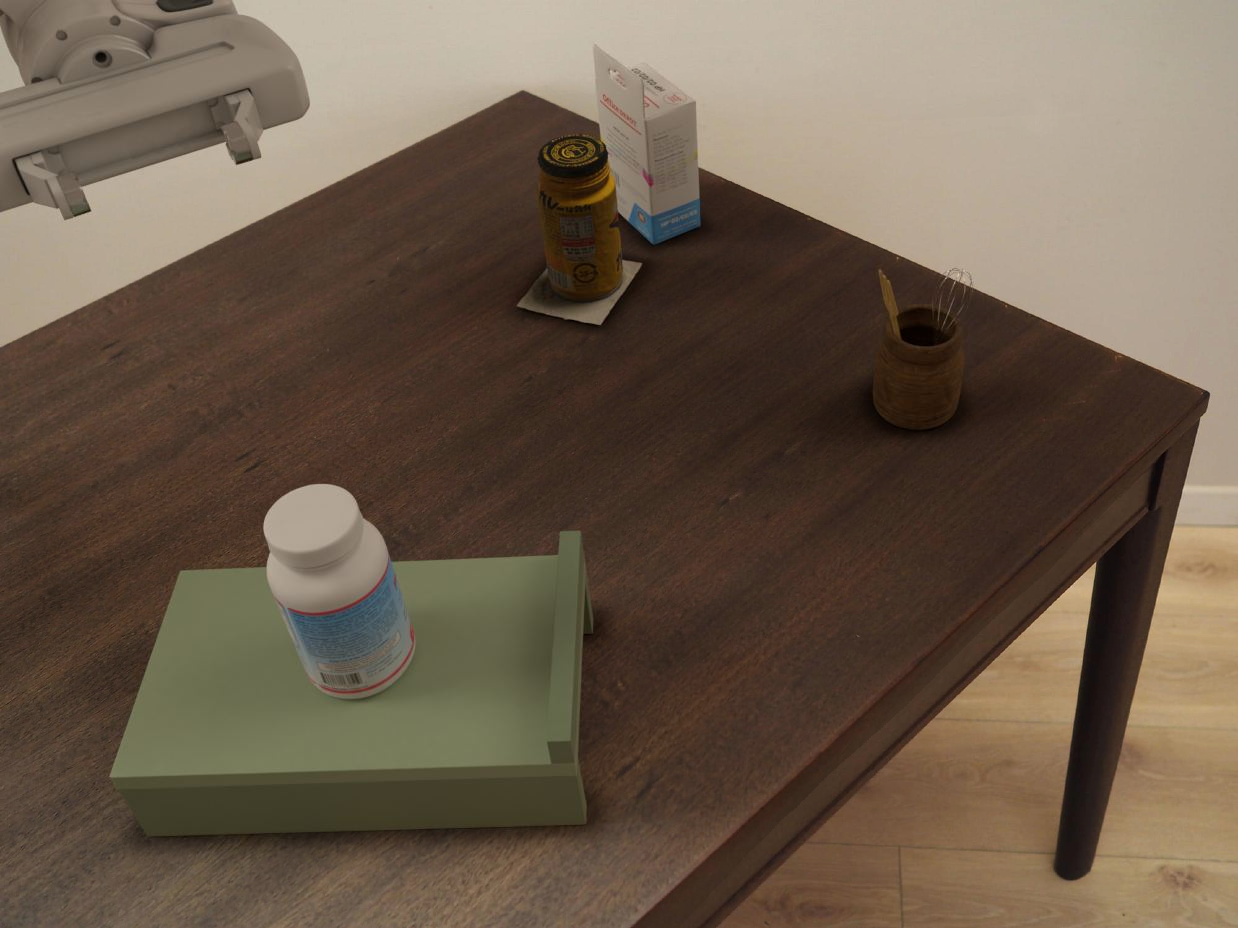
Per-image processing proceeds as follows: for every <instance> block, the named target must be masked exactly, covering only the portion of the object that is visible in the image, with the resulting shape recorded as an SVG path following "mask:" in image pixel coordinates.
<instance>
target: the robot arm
mask: <svg viewBox="0 0 1238 928" xmlns="http://www.w3.org/2000/svg"><path fill="white" fill-rule="evenodd" d="M0 30H1V33H2V37H3V39H4V42H5V44H6V47H7V50H8V52H9V54H10V56H11V58H12V60H13V61H14V63H15V64H16V66H17V67H18V72H19V75H20V77H21V80H22V82H23V84H24V85H23V86H19V87H16V88H12V89H9V90H5V91H1V92H0V213H3V212H6V211H9V210H12V209H16V208H19V207H22V206H25V205H29V204H31V203H34V204H36V205H41V206H44V207H48V208H52V209H56V210H57V209H58V210H59V211H60V214H61V216H62V219H63V220H64V221H67V220H71V219H74V218H77V217H80V216H83V215H85V214H88V213H91V212H92V209H91V206H90V203H89V202H88V199H87V197H86V195H85V192H84V189H83V188H84V187H86V186H89V185H92V184H95V183H100V182H103V181H105V180H109V179H112V178H115V177H118V176H122V175H124V174H127V173H131V172H134V171H138V170H141V169H144V168H147V167H150V166H153V165H157V164H160V163H164V162H167V161H170V160H172V159H176V158H179V157H183V156H185V155H189V154H192V153H195V152H199V151H203V150H205V149H208V148H211V147H215V146H218V145H220V144H223V143H225V147H226V150H227V153H228V156H229V157H230V159H231V161H233V163H234V165H235V166H239V165H242V164H245V163H249V162H252V161H255V160H259V159H261V158H262V153H261V150H260V146H259V140H260V138H261V137H262V136H263V133H264V131H266V130H268V129H272V128H276V127H278V126H281V125H285V124H288V123H291V122H295V121H299V120H300V119H302V118H303V117H304V116H305V115H306V114H307V112H308V111H309V109H310V107H311V100H310V95H309V90H308V86H307V81H306V78H305V75H304V71H303V68H302V65H301V62H300V60H299V58H298V55H297V54H296V52H294V50H293V49H292V48H291V46H290V45H288V43H287V42H286V41H285V40H284V39H283V38H282V37H281V36H280V35H279V34H277V33H276V32H275V31H274V30H273V29H272V28H270V27H269V26H268V25H267V24H265V23H264V22H263V21H261V20H259V19H257V18H255V17H253V16H249V15H245V14H239V12H238V10H237V8H236V6H235V3H234V0H0Z"/></svg>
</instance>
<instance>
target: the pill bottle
mask: <svg viewBox="0 0 1238 928" xmlns="http://www.w3.org/2000/svg"><path fill="white" fill-rule="evenodd" d="M263 533H264V537H265V540H266V543H267V546H268V549H269V554H268V557H267V562H266V567H267V579H268V583H269V586H270V588H271V591H272V593H273V596H274V598H275V600H276V603H277V605H278V608H279V610H280V612H281V615H282V617H283V619H284V622H285V624H286V626H287V629H288V631H289V634H290V636H291V638H292V641H293V643H294V645H295V648H296V650H297V652H298V655H299V657H300V659H301V662H302V664H303V667H304V669H305V671H306V673H307V675H308V677H309V679H310V681H311V682H312V683H313V684H314V685H315V686H316V687H317V688H318V689H319V690H320V691H322V692H324V693H325V694H327V695H330V696H333V697H336V698H342V699H359V698H364V697H368V696H372V695H374V694H377V693H379V692H381V691H383V690H385V689H386V688H388V687H389V686H391V685H392V684H393V683H394V682H395V681H397V679H398V678H399V677H400V676H401V675H402V674H403V673H404V671H405V670H406V669H407V667H408V666H409V664H410V662H411V660H412V658H413V655H414V651H415V635H414V631H413V627H412V624H411V621H410V618H409V615H408V612H407V609H406V606H405V602H404V599H403V596H402V593H401V590H400V587H399V584H398V581H397V578H396V574H395V571H394V568H393V565H392V562H393V561H392V559H391V556H390V553H389V550H388V547H387V544H386V541H385V539H384V537H383V535H382V533H381V532H380V531H379V530H378V528H377V527H376V526H375V525H374V524H372V523H371V521H368V520H367V519H365V518H364V517H363V514H362V512H361V510H360V507H359V505H358V502H357V500H356V499H355V497H354V496H353V494H352V493H351V492H349V491H348V490H347V489H345V488H343V487H341V486H338V485H334V484H329V483H316V484H315V483H313V484H308V485H304V486H301V487H298V488H296V489H293V490H291V491H289V492H287V493H286V494H284V495H283V496H281V497H280V498H278V499H277V500H276V501H275V503H273V505H271V507H270V508H269V510H268V511H267V513H266V515H265V517H264V522H263Z"/></svg>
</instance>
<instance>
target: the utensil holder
mask: <svg viewBox="0 0 1238 928" xmlns="http://www.w3.org/2000/svg"><path fill="white" fill-rule="evenodd" d="M954 270H955V271H954ZM952 271H954V272H952ZM947 272H948V273H947ZM951 272H952V273H951ZM956 273H958V274H957V275H956V277H955V280H954V282H953V284H952V287H951V290H950V292H949V295H948V298H947V302H946V304H945V307H941V303H942V302H941V300H942V296H943V292H944V289H945V286H946V283H947V280H948V278H949V277H950V276H951V275H953V274H956ZM945 274H947V276H945V278H944V279H943V281H941V278H942V277H943V275H945ZM959 275H960V278H959ZM964 275H966V276H967V277H968V278H969V281H970V283H969V287H968V291H967V294H966V297H965V293H966V287H964V290H963V295H962V298H961V301H960V305H959V308H958V310H957V313H956V315H955V314H954V313H953V312H952V311H951V308H952V306H953V303H954V300H955V297H956V295H957V291H958V289H959V285H960V283H961V279H962V278H963V284H964V285H966V280H965V276H964ZM878 276H879V282H880V287H881V293H882V298H883V303H884V306H885V307H886V310H887V311H888V314H889V315H888V317H887V318H886V321H885V323H884V326H883V330H882V339H881V340H880V342H879V343H878V346H877V349H876V354H875V361H874V371H873V382H872V383H873V385H872V399H873V405H874V407H875V409H876V411H877V413H878V414H879V415H880V416H881V417H882V418H883V419H884V420H885V421H886V422H888V423H890V424H891V425H894V426H896V427H898V428H902V429H906V430H913V431H922V430H923V431H924V430H931V429H934V428H937V427H939V426H942V425H943V424H945V423H947V422H948V421H949V420H950V419H952V417H953V416H954V414H955V412H956V410H957V408H958V406H959V401H960V397H961V391H962V384H963V377H964V370H965V352H964V349H963V342H964V332H963V325H962V323H961V319H962V318H963V317H964V316H965V313H966V311H967V309H968V307H969V305H970V302H971V299H972V295H973V291H974V285H973V279H972V276H971V274H970V272H968V271H966V270H964V269H963V268H961V269H959V268H958V267H954V268H951V269H948V270H946V271H945V272H943V273H942V274H941V275H940V277H939V279H938V281H937V284H936V286H935V289H934V292H933V296H932V303H931V304H928V303H914V304H913V303H912V304H909V305H904V306H902V307H899V308H898V307H897V303H896V299H895V296H894V292H893V288H892V284H891V281H890V280H889V279H887V276H886V275H885V274H883V270H882V269H878ZM958 278H959V281H958V283H957V287H956V289H955V292H954V296H953V299H952V301H951V304H950V306H949V309H947V306H948V304H949V300H950V298H951V295H952V291H953V289H954V286H955V283H956V281H957V279H958ZM940 281H941V284H940V286H939V288H938V285H939V282H940ZM943 283H944V284H943ZM942 285H943V287H942ZM937 288H938V291H937ZM941 288H942V289H941ZM940 290H941V294H940V298H939V305H936V301H937V298H938V296H939V293H940ZM970 290H971V293H970ZM936 291H937V293H936ZM969 293H970V297H969V300H968V302H967V298H968V295H969ZM935 294H936V296H935ZM964 297H965V300H964ZM934 299H935V300H934ZM963 300H964V302H963ZM966 302H967V304H966V305H967V306H966V308H965V310H964V312H963V313H962V315H961V316H960V317H959V318H958V315H960V312H961V311H962V310H963V308H964V305H965V303H966Z"/></svg>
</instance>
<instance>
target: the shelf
mask: <svg viewBox="0 0 1238 928" xmlns="http://www.w3.org/2000/svg"><path fill="white" fill-rule="evenodd" d="M558 539H559V540H558V554H553V555H551V554H550V555H528V556H527V555H525V556H502V557H477V558H453V559H430V560H428V559H427V560H406V561H405V560H403V561H391V562H392V565H393V568H394V571H395V574H396V578H397V581H398V584H399V587H400V590H401V593H402V596H403V599H404V602H405V606H406V609H407V612H408V615H409V618H410V621H411V624H412V627H413V631H414V635H415V651H414V655H413V658H412V660H411V662H410V664H409V666H408V667H407V669H406V670H405V671H404V673H403V674H402V675H401V676H400V677H399V678H398V679H397V681H395V682H394V683H393V684H392V685H391V686H389V687H388V688H386V689H385V690H383V691H381V692H379V693H377V694H374V695H372V696H368V697H364V698H359V699H342V698H336V697H333V696H330V695H327V694H325V693H324V692H322V691H320V690H319V689H318V688H317V687H316V686H315V685H314V684H313V683H312V682H311V681H310V679H309V677H308V675H307V673H306V671H305V669H304V667H303V664H302V662H301V659H300V657H299V655H298V652H297V650H296V648H295V645H294V643H293V641H292V638H291V636H290V634H289V631H288V629H287V626H286V624H285V622H284V619H283V617H282V615H281V612H280V610H279V608H278V605H277V603H276V600H275V598H274V596H273V593H272V591H271V588H270V586H269V583H268V579H267V566H256V567H233V568H214V569H213V568H209V569H207V568H206V569H183V570H182V569H181V570H180V571H179V573H178V576H177V579H176V581H175V585H174V587H173V590H172V593H171V596H170V600H169V602H168V605H167V608H166V611H165V614H164V616H163V619H162V623H161V625H160V628H159V631H158V634H157V637H156V640H155V642H154V645H153V649H152V651H151V654H150V657H149V660H148V663H147V666H146V669H145V672H144V675H143V678H142V681H141V684H140V686H139V689H138V692H137V695H136V698H135V701H134V703H133V707H132V710H131V713H130V716H129V718H128V721H127V724H126V726H125V729H124V733H123V736H122V739H121V741H120V744H119V748H118V750H117V753H116V756H115V759H114V762H113V765H112V768H111V771H110V774H109V779H110V781H111V783H112V784H113V785H114V787H115V788H116V790H117V792H118V793H119V795H120V796H121V798H122V799H123V801H124V802H125V804H126V806H127V807H128V808H129V810H130V812H131V813H132V815H133V816H134V817H135V819H136V820H137V823H138V824H139V825H140V827H141V828H142V830H143V831H144V833H145V834H146V836H147V837H183V836H186V837H187V836H216V835H217V836H219V835H221V836H223V835H255V834H257V835H258V834H293V833H295V834H296V833H329V832H331V833H332V832H364V831H365V832H366V831H367V832H368V831H399V830H406V831H407V830H436V829H438V830H439V829H474V828H475V829H476V828H478V829H479V828H510V827H511V828H512V827H514V828H516V827H548V826H549V827H550V826H551V827H552V826H583V825H584V826H585V825H586V824H587V810H588V809H587V808H588V807H587V799H586V795H585V794H586V793H585V789H584V783H583V778H582V777H583V776H582V772H581V765H580V761H579V756H578V755H579V740H580V739H579V738H580V737H579V736H580V716H581V714H580V713H581V691H582V689H581V688H582V668H583V664H582V663H583V647H584V646H583V645H584V635H593V633H594V613H593V607H592V599H591V592H590V586H589V579H588V572H587V565H586V558H585V550H584V543H583V537H582V531H581V530H561V531H559V538H558Z"/></svg>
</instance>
